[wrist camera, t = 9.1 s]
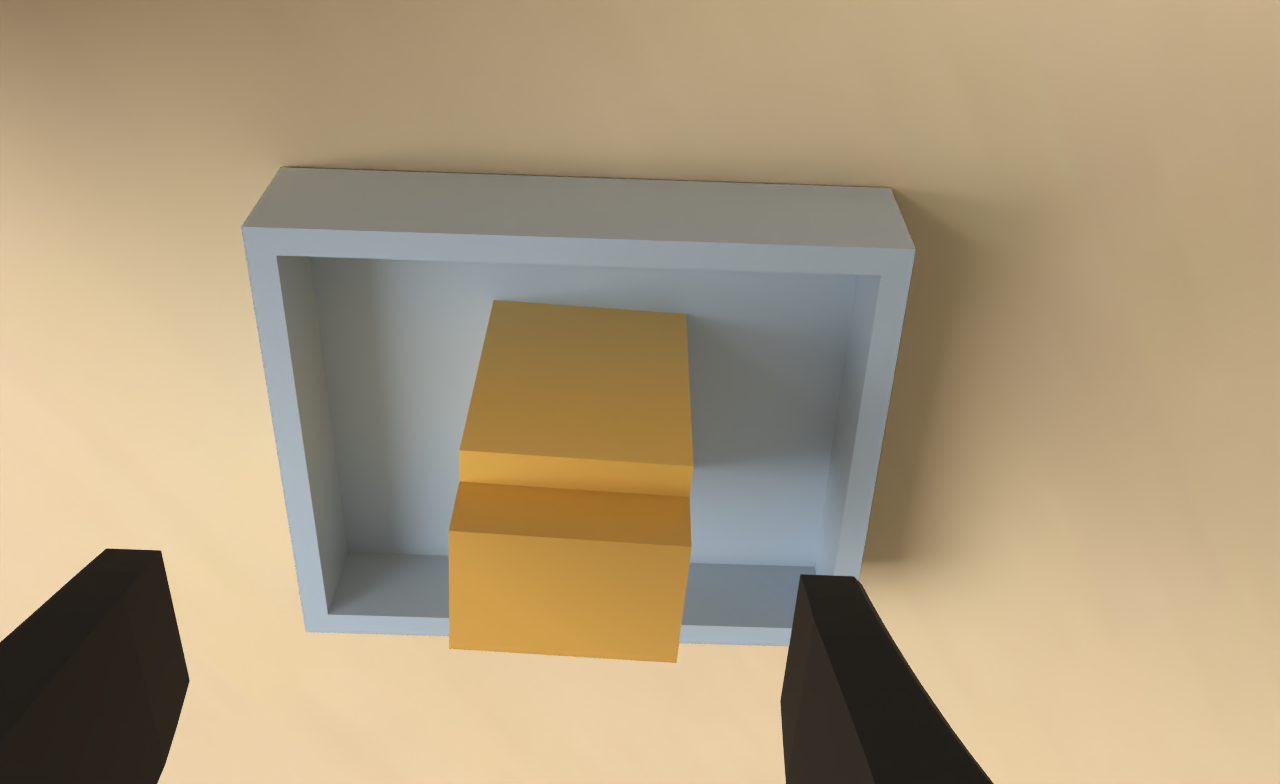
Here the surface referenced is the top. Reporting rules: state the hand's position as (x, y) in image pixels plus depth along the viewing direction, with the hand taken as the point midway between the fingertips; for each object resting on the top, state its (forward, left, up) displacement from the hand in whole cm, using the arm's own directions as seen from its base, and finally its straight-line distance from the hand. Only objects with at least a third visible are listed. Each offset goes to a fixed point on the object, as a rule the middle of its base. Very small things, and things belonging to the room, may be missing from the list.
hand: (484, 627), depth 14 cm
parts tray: (+1, -3, -10) cm, 11 cm away
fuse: (+1, -3, -10) cm, 10 cm away
